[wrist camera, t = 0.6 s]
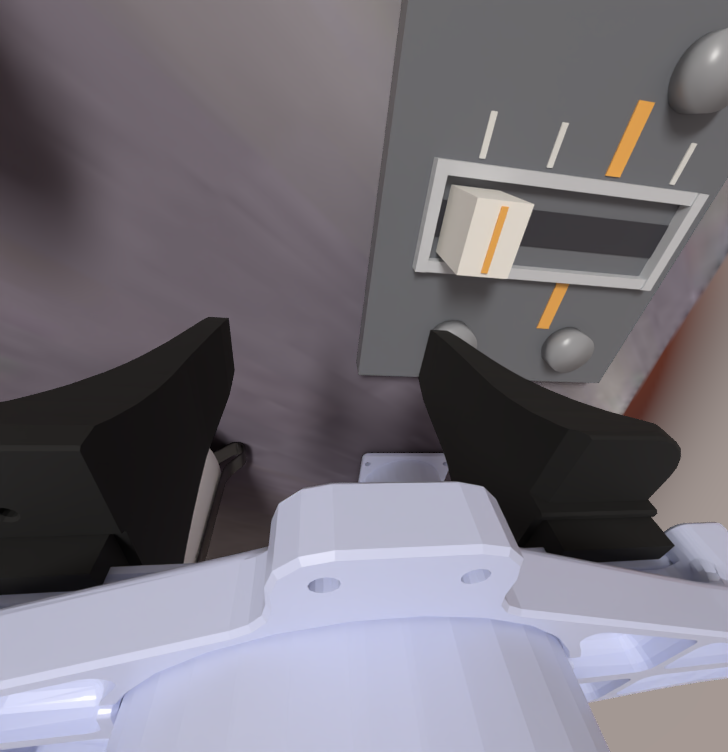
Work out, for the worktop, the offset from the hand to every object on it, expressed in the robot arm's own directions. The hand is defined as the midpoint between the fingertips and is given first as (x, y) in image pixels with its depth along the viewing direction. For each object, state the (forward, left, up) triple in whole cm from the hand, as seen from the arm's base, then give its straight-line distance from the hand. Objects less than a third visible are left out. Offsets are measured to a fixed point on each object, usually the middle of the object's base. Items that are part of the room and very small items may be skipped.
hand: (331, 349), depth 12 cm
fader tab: (+3, -7, -8) cm, 11 cm away
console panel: (+3, -11, -10) cm, 15 cm away
